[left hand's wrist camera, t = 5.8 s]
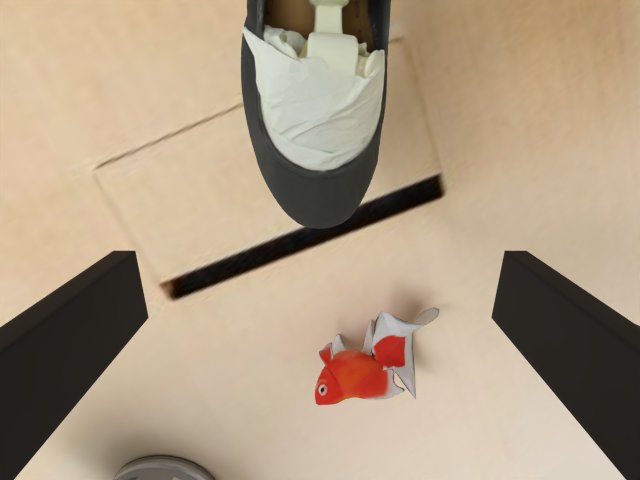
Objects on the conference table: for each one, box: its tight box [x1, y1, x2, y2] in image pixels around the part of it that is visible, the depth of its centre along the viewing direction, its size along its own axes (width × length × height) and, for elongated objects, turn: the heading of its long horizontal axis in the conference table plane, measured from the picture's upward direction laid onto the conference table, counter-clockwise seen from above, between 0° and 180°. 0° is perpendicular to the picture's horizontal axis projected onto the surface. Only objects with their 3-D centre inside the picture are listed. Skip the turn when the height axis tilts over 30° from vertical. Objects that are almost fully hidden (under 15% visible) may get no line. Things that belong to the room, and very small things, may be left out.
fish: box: [315, 308, 439, 405], centre depth 37 cm, size 11×16×10 cm
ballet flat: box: [241, 0, 391, 229], centre depth 17 cm, size 8×24×8 cm, turn 0°
